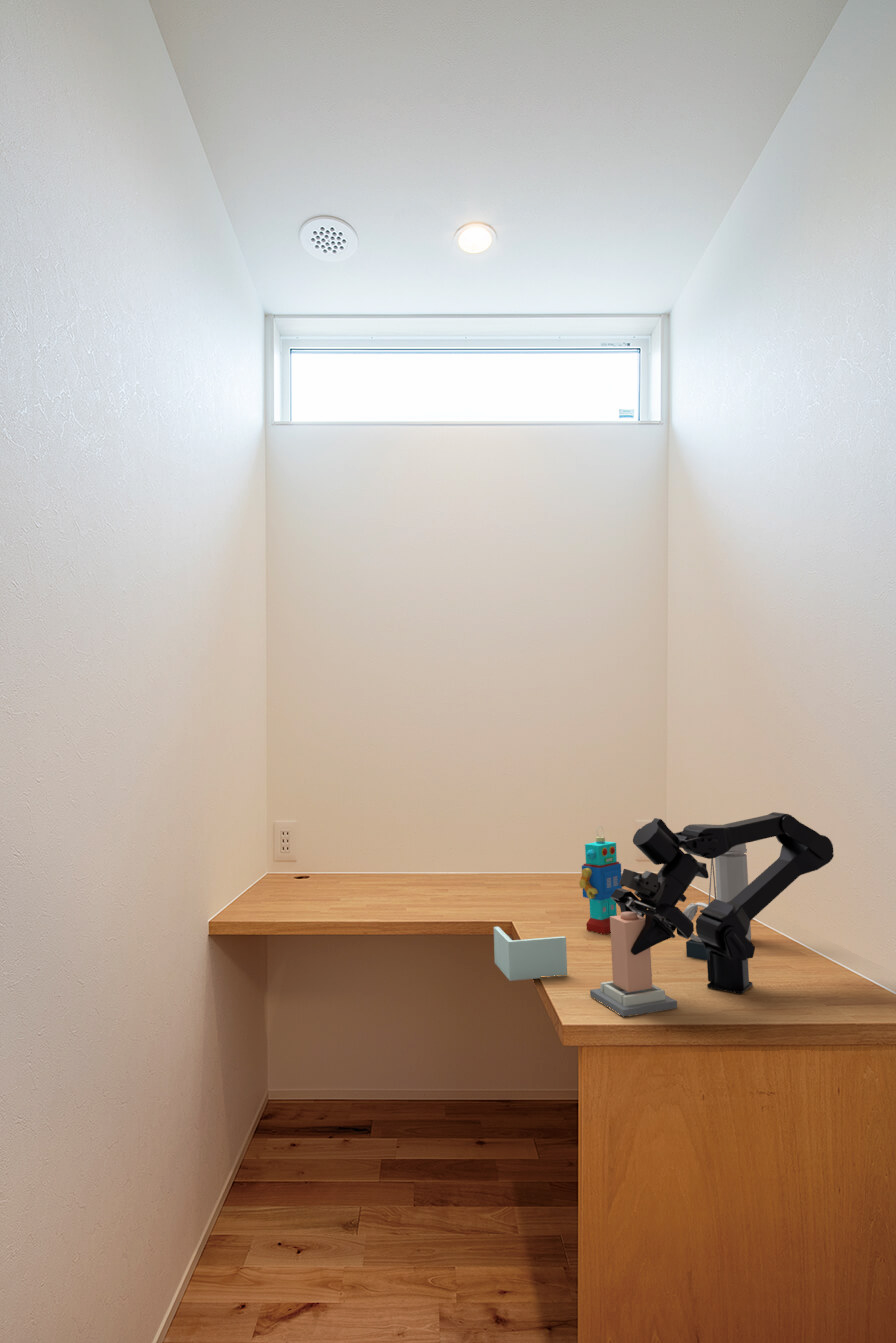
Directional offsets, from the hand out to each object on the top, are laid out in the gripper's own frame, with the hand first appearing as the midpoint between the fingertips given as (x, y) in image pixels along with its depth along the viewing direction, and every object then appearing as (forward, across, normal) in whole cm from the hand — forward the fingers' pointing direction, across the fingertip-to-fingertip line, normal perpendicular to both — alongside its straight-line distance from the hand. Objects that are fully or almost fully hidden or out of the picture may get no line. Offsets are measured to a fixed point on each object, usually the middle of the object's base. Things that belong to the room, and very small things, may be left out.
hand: (624, 949), depth 136 cm
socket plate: (+6, 0, +8) cm, 10 cm away
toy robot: (-9, -45, +23) cm, 51 cm away
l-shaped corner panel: (+12, -25, +2) cm, 28 cm away
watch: (-14, -18, +28) cm, 36 cm away
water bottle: (-24, -24, +38) cm, 51 cm away
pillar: (+4, 0, +6) cm, 7 cm away
